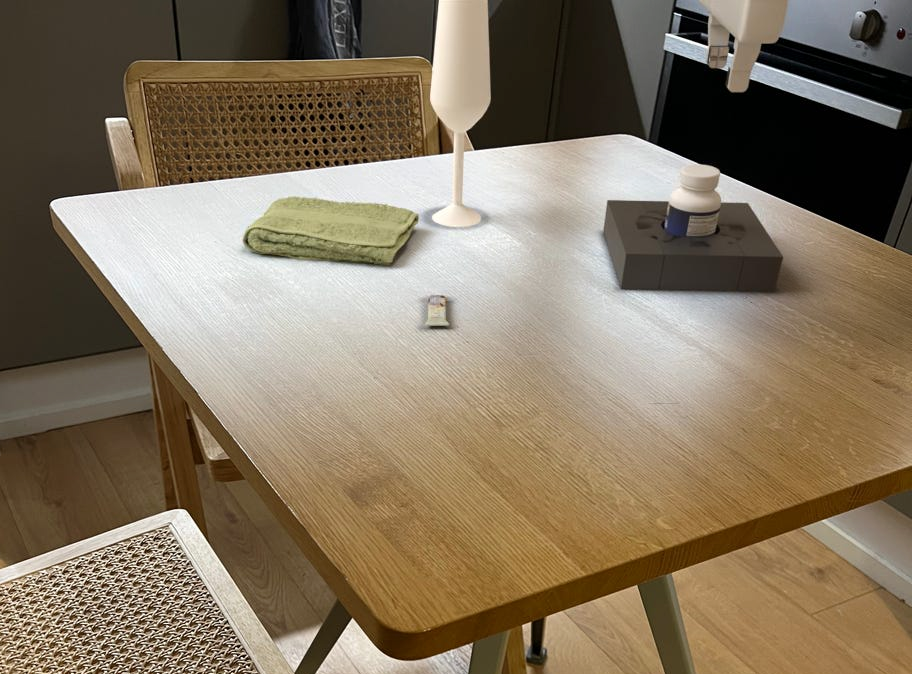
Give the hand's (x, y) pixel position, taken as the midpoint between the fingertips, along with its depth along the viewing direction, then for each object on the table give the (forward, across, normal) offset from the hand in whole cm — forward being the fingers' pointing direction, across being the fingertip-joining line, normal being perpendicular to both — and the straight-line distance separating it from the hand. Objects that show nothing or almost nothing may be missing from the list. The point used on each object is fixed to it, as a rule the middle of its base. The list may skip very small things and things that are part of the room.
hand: (725, 78), depth 94 cm
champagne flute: (+18, +12, +26) cm, 34 cm away
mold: (+18, 0, +1) cm, 18 cm away
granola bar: (+18, -15, +28) cm, 36 cm away
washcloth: (+18, +4, +40) cm, 44 cm away
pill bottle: (+18, 0, +1) cm, 18 cm away
